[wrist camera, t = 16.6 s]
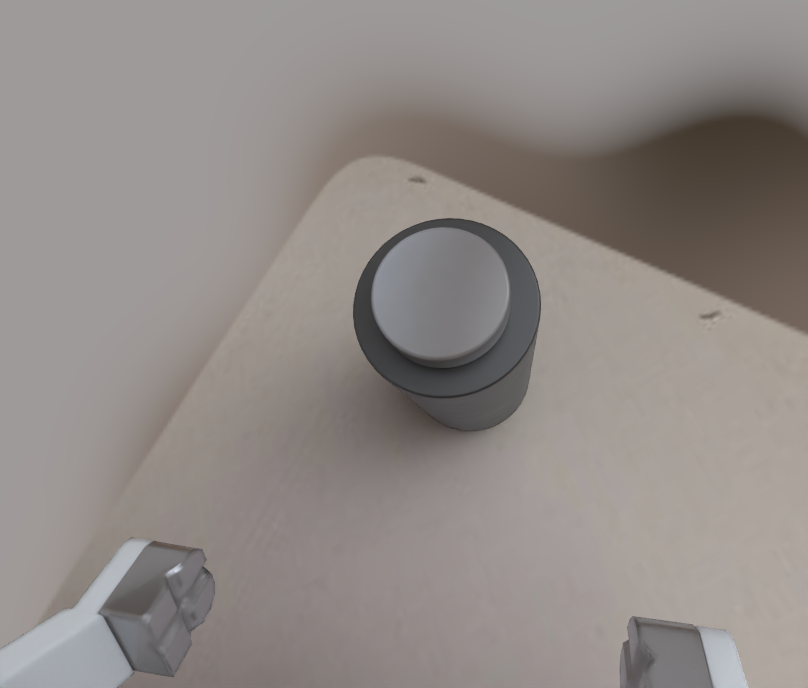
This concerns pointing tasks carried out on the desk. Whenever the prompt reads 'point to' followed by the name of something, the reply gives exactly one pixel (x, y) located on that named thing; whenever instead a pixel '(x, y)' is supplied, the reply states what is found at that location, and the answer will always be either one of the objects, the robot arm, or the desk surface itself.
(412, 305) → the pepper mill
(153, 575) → the robot arm
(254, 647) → the desk surface
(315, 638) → the desk surface
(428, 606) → the desk surface
